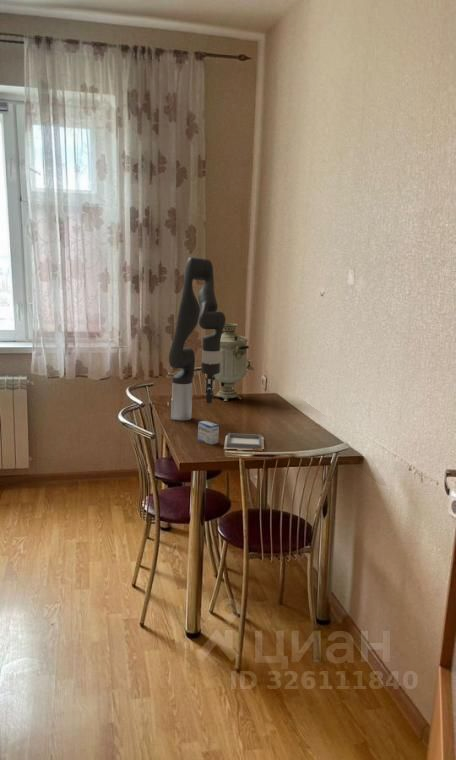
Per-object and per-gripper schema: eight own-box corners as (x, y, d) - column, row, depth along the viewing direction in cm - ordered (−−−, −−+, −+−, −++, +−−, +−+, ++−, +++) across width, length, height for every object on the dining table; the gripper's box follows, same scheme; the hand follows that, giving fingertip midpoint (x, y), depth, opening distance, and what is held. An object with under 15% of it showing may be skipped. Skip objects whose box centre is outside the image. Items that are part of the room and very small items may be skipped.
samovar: (264, 404, 317) (268, 328, 308) (216, 406, 310) (218, 328, 301) (246, 391, 345) (249, 320, 336) (201, 392, 337) (203, 320, 329)
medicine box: (197, 442, 252) (197, 421, 250) (204, 439, 256) (205, 420, 254) (210, 446, 247) (211, 426, 245) (218, 444, 250) (219, 424, 248)
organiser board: (223, 451, 242) (223, 444, 242) (225, 438, 259) (226, 431, 258) (263, 453, 242) (264, 446, 241) (263, 439, 258) (263, 433, 258)
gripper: (203, 357, 251) (202, 396, 255) (200, 364, 237) (199, 404, 241) (221, 358, 251) (219, 396, 254) (219, 365, 237) (217, 405, 240)
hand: (209, 400), depth 247 cm, fingers open, 8 cm apart
